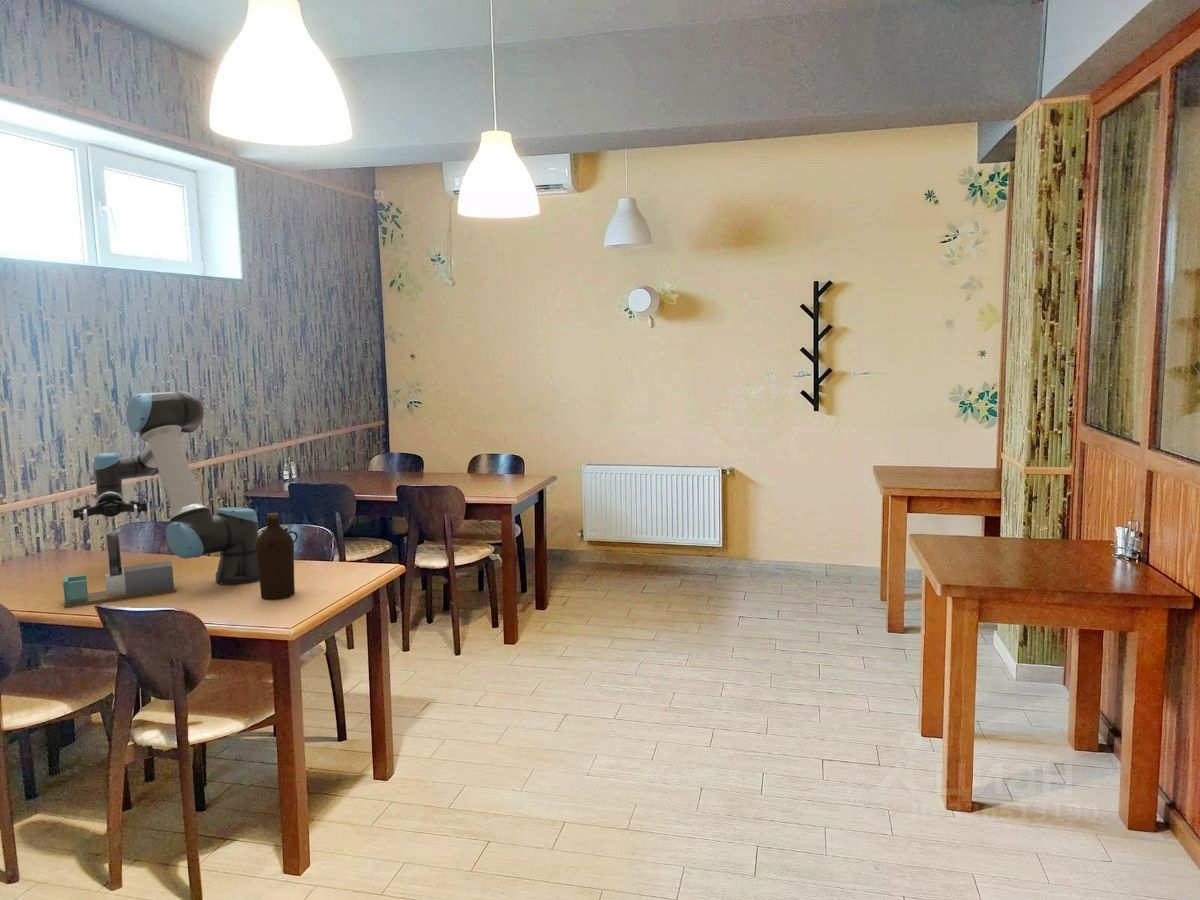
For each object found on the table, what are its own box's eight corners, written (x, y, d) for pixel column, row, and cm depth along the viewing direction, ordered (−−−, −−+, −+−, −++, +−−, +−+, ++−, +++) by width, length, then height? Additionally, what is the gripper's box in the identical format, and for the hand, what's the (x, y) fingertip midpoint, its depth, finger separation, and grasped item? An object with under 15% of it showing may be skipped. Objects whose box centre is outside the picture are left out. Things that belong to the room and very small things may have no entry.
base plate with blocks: (173, 584, 265) (171, 559, 264) (176, 592, 256) (174, 566, 255) (65, 599, 250) (62, 573, 249) (64, 608, 242) (61, 581, 241)
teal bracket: (87, 594, 252) (85, 573, 251) (87, 600, 246) (85, 578, 245) (66, 597, 249) (64, 576, 248) (65, 603, 243) (63, 581, 242)
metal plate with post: (165, 580, 261) (161, 527, 259) (166, 584, 257) (162, 530, 255) (106, 589, 253) (101, 534, 251) (106, 592, 249) (101, 537, 247)
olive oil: (302, 595, 251) (297, 513, 248) (267, 603, 243) (261, 518, 240) (288, 588, 258) (283, 508, 255) (253, 595, 251) (247, 513, 248)
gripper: (153, 510, 283) (157, 522, 265) (66, 519, 271) (64, 531, 253) (152, 489, 282) (155, 498, 264) (64, 496, 270) (61, 507, 252)
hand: (110, 514), depth 258 cm, fingers open, 13 cm apart
